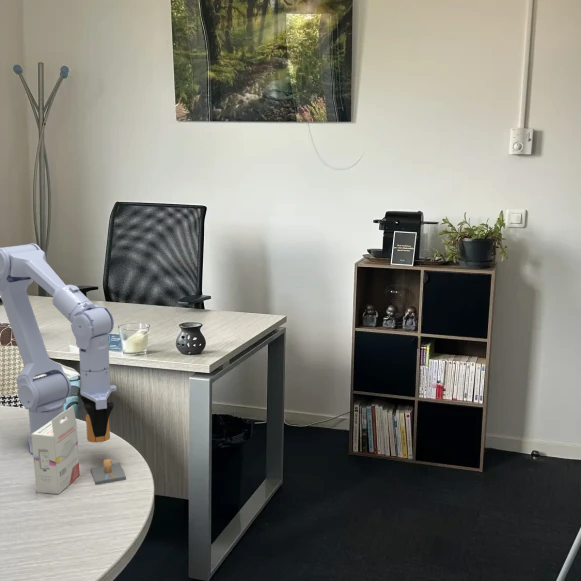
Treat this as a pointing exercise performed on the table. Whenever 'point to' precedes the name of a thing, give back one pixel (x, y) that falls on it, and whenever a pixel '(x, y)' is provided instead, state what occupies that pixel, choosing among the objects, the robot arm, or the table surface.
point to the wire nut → (91, 435)
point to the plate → (107, 472)
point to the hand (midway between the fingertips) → (98, 431)
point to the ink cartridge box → (56, 453)
